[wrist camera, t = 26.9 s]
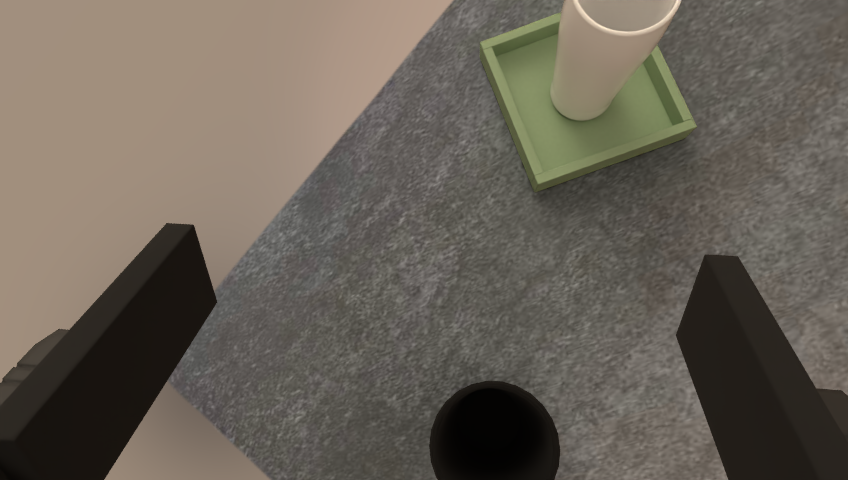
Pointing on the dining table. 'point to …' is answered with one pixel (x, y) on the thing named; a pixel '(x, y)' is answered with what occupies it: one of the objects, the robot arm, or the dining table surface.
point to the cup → (494, 436)
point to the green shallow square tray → (570, 139)
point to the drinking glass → (603, 50)
